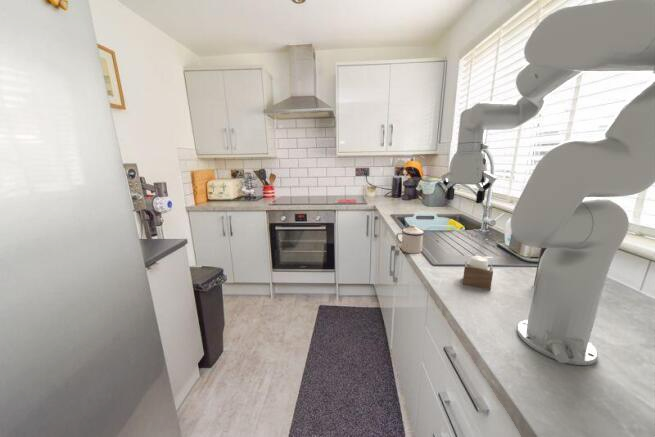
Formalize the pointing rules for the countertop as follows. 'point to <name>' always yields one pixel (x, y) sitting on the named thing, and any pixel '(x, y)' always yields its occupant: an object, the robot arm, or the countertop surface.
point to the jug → (478, 262)
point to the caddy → (477, 277)
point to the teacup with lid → (411, 239)
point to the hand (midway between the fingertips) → (464, 201)
